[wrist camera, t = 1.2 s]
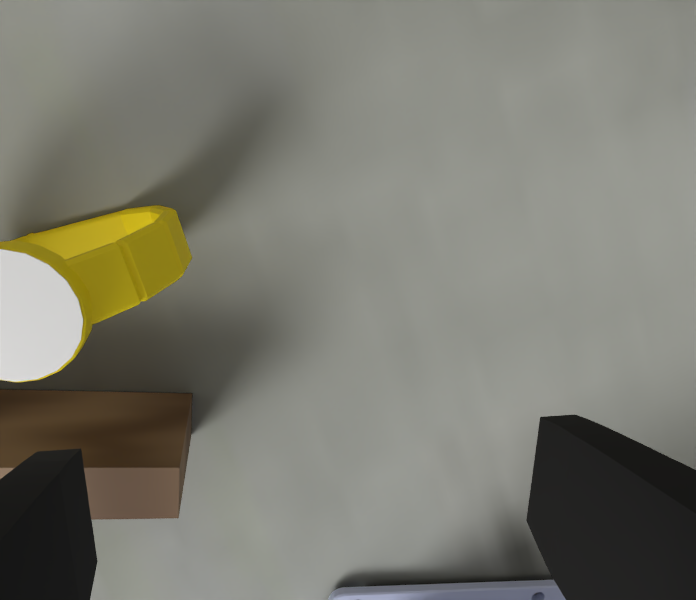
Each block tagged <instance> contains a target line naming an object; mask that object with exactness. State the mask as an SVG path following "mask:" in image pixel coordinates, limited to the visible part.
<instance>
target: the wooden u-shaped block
mask: <svg viewBox="0 0 696 600" xmlns="http://www.w3.org/2000/svg"><path fill="white" fill-rule="evenodd" d="M191 421H192V393H149V392H100V391H52V390H4V389H0V479H1V478H2V477H4V476H5V475H6V474H8V473H9V472H10V471H11V470H13V469H14V468H15V467H17V466H18V465H19V464H20V463H22V462H23V461H24V460H26V459H27V458H29V457H30V456H32V455H33V454H34V453H36V452H37V451H52V450H66V449H81V451H82V458H83V465H84V472H85V479H86V486H87V493H88V500H89V507H90V514H91V519H150V518H178V517H179V511H180V504H181V498H182V491H183V485H184V478H185V472H186V466H187V459H188V453H189V446H190V440H191Z"/></svg>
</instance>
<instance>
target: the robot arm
mask: <svg viewBox="0 0 696 600" xmlns="http://www.w3.org/2000/svg"><path fill="white" fill-rule="evenodd" d="M527 523H528V525H529V527H530V529H531V532H532V534H533V536H534V539H535V541H536V543H537V546H538V548H539V550H540V552H541V555H542V557H543V559H544V561H545V563H546V565H547V567H548V569H549V571H550V574H551V576H552V577H553V579H554V580H530V581H502V582H475V583H447V584H420V585H393V586H365V587H342V588H338V589H336V590H334V591H333V592H332V593H331V594H330V596H329V599H328V600H358V599H359V600H696V470H694V469H692V468H690V467H688V466H686V465H684V464H682V463H680V462H678V461H676V460H674V459H672V458H669V457H667V456H665V455H663V454H661V453H659V452H657V451H655V450H653V449H651V448H649V447H647V446H645V445H643V444H641V443H639V442H636V441H634V440H632V439H630V438H628V437H626V436H624V435H622V434H620V433H618V432H615V431H613V430H611V429H609V428H607V427H605V426H602V425H600V424H598V423H595V422H593V421H591V420H588V419H586V418H583V417H580V416H577V415H563V416H548V417H540V424H539V431H538V439H537V446H536V454H535V461H534V468H533V476H532V483H531V491H530V498H529V506H528V513H527ZM96 565H97V556H96V549H95V542H94V535H93V528H92V521H91V514H90V507H89V500H88V493H87V486H86V479H85V472H84V465H83V458H82V451H81V449H66V450H52V451H37V452H36V453H34V454H33V455H32V456H30V457H29V458H27V459H26V460H24V461H23V462H22V463H20V464H19V465H18V466H17V467H15V468H14V469H13V470H11V471H10V472H9V473H8V474H6V475H5V476H4V477H2V478H1V479H0V600H90V596H91V591H92V586H93V581H94V576H95V570H96ZM535 593H537V594H535ZM534 594H535V595H534Z"/></svg>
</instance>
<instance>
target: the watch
mask: <svg viewBox="0 0 696 600" xmlns="http://www.w3.org/2000/svg"><path fill="white" fill-rule="evenodd" d="M191 259H192V256H191V253H190V250H189V247H188V244H187V241H186V238H185V235H184V233H183V230H182V227H181V224H180V221H179V218H178V215H177V212H176V210H174V209H172V208H168V207H164V206H160V205H157V206H156V205H153V206H145V207H137V208H129V209H125V210H122V211H118V212H114V213H110V214H107V215H103V216H99V217H95V218H92V219H88V220H84V221H80V222H76V223H73V224H69V225H65V226H61V227H58V228H54V229H50V230H46V231H43V232H39V233H35V234H34V233H30V234H27V236H22V237H20V238H17V239H14V240H11V241H4V242H0V380H3V381H10V382H26V381H34V380H40V379H43V378H45V377H48V376H50V375H52V374H55V373H57V372H59V371H61V370H62V369H63V368H64V367H65V366H67V365H68V364H69V363H70V362H71V361H72V360H73V359H74V358H75V357H76V356H77V354H78V353H79V351H80V350H81V349H82V347H83V346H84V344H85V342H86V340H87V338H88V336H89V334H90V332H91V330H92V325H93V324H96V323H98V322H100V321H102V320H105V319H107V318H109V317H112V316H114V315H116V314H118V313H121V312H123V311H125V310H128V309H130V308H132V307H134V306H137V305H139V304H140V302H141V301H147V300H148V299H150V298H151V297H153V296H154V295H156V294H157V293H159V292H160V291H162V290H163V289H165V288H166V287H168V286H169V285H171V284H173V283H174V282H176V281H177V280H179V278H180V277H182V275H183V274H184V272H185V270H186V268H187V266H188V265H189V263H190V261H191Z"/></svg>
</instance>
